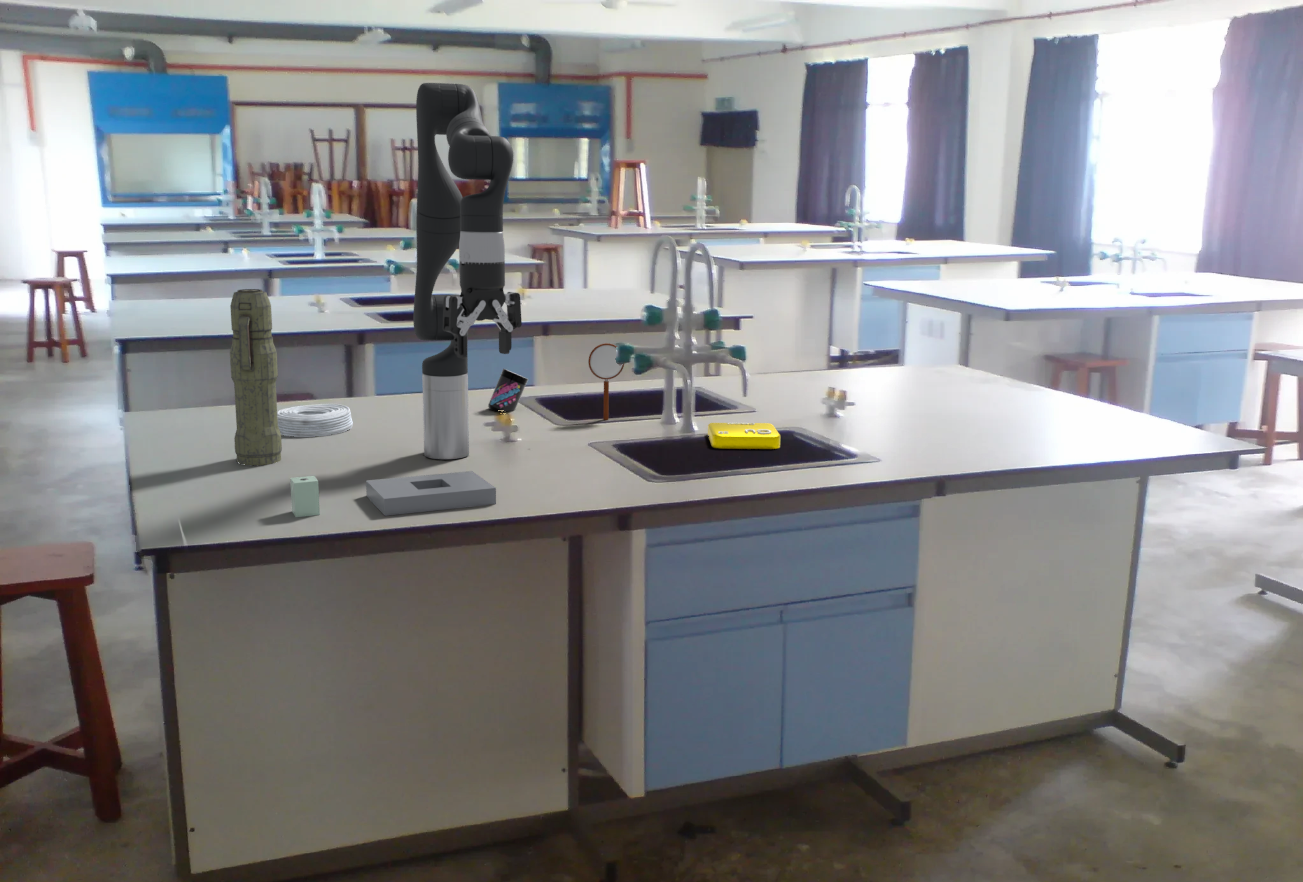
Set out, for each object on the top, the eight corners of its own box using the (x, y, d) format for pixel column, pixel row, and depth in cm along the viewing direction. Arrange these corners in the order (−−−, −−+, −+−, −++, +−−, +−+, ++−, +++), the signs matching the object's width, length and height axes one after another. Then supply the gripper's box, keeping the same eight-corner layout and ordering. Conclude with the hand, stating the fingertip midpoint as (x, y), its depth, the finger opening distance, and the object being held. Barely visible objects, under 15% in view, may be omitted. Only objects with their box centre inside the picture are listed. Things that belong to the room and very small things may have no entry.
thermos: (231, 471, 230) (220, 292, 223) (241, 457, 242) (231, 287, 235) (277, 470, 232) (269, 292, 225) (285, 456, 243) (277, 287, 236)
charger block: (291, 511, 203) (290, 477, 202) (315, 509, 204) (313, 475, 203) (295, 517, 199) (294, 483, 198) (319, 514, 201) (318, 480, 200)
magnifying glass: (623, 425, 282) (624, 342, 278) (624, 426, 281) (625, 343, 276) (587, 425, 281) (588, 343, 277) (588, 427, 279) (589, 343, 275)
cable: (364, 429, 274) (363, 403, 273) (337, 444, 257) (336, 417, 255) (292, 426, 275) (290, 401, 274) (260, 441, 258) (259, 415, 257)
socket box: (366, 496, 213) (365, 480, 213) (472, 486, 222) (472, 470, 221) (384, 515, 201) (384, 498, 200) (496, 504, 209) (495, 487, 209)
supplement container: (481, 405, 289) (497, 366, 289) (500, 411, 294) (516, 373, 294) (498, 413, 285) (515, 373, 284) (517, 420, 290) (533, 381, 290)
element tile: (771, 441, 269) (772, 420, 268) (781, 455, 254) (781, 434, 253) (706, 440, 268) (707, 420, 267) (712, 455, 254) (712, 433, 253)
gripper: (504, 256, 202) (505, 349, 206) (433, 259, 193) (435, 356, 197) (530, 259, 197) (530, 355, 200) (457, 261, 188) (459, 362, 191)
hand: (483, 355), depth 198 cm, fingers open, 8 cm apart
